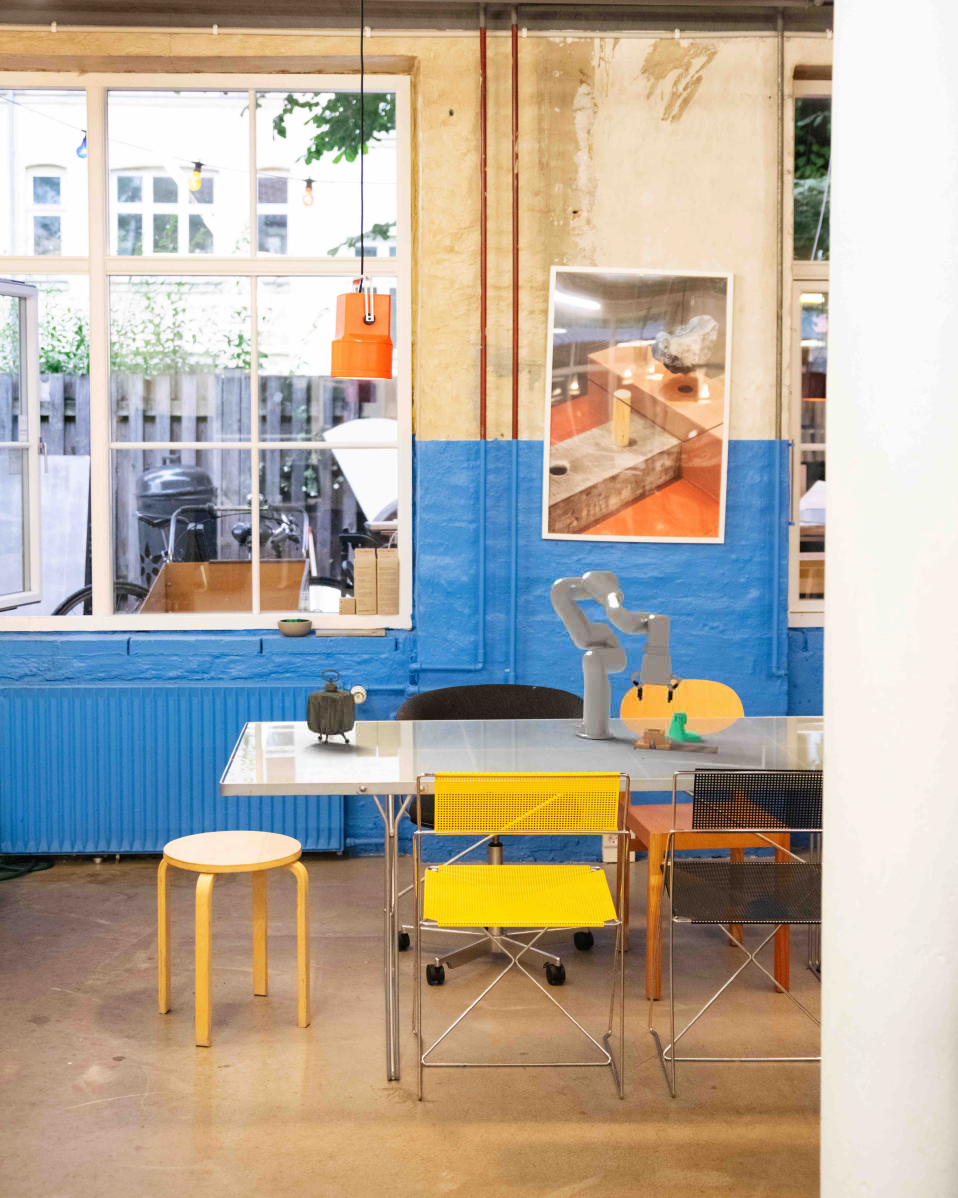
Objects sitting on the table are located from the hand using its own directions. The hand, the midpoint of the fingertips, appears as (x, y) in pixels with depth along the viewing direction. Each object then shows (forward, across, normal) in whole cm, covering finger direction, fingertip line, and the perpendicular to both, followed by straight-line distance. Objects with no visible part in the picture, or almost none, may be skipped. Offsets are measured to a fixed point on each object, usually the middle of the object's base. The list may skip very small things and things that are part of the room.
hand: (654, 701), depth 388 cm
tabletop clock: (+18, -104, -32) cm, 111 cm away
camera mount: (+17, +10, +19) cm, 27 cm away
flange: (+15, 0, 0) cm, 15 cm away
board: (+16, +8, 0) cm, 18 cm away
